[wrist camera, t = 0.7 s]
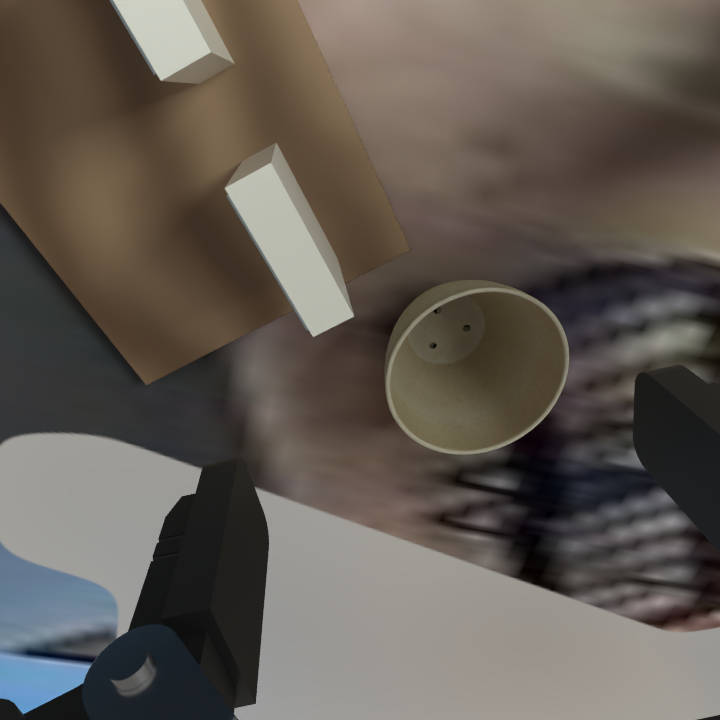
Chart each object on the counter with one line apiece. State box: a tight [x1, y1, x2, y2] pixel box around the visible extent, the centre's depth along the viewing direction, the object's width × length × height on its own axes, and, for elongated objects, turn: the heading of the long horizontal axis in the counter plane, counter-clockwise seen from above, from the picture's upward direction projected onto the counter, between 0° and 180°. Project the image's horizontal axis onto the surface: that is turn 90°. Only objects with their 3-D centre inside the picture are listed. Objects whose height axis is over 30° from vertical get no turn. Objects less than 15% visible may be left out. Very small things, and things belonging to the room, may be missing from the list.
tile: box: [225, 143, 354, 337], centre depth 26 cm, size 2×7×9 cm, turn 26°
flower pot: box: [384, 280, 569, 455], centre depth 32 cm, size 10×10×7 cm
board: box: [0, 0, 411, 385], centre depth 29 cm, size 18×21×1 cm
